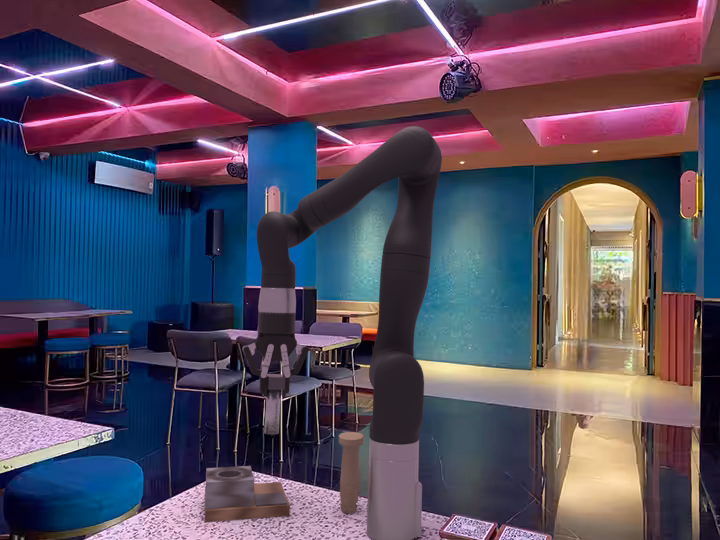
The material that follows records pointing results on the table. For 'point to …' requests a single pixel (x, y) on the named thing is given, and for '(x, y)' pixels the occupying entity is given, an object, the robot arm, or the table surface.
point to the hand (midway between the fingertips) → (274, 395)
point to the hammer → (273, 402)
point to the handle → (350, 470)
